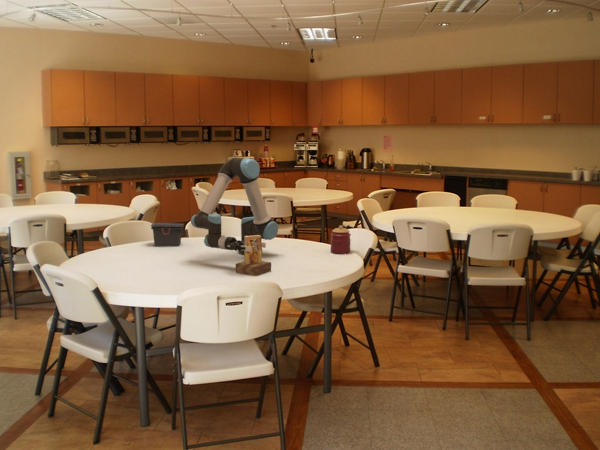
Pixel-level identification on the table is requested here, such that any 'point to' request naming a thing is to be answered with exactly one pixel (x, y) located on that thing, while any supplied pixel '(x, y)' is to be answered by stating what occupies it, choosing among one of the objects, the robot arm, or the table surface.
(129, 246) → the table surface
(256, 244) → the candy box
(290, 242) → the table surface
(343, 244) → the canister
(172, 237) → the storage bin
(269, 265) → the walnut base
